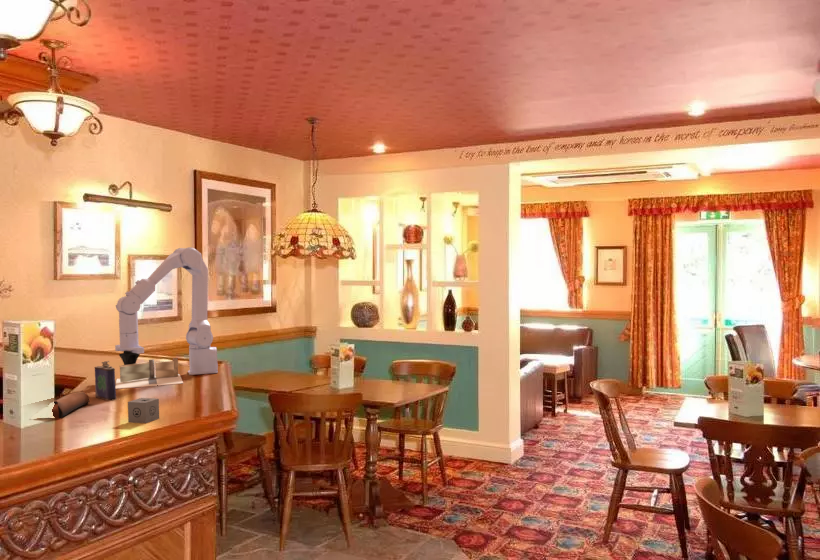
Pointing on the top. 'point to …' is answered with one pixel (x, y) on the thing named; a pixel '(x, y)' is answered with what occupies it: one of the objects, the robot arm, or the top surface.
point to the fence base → (164, 368)
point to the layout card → (149, 382)
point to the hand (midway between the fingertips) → (130, 374)
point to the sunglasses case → (69, 403)
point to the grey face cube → (143, 410)
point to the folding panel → (134, 371)
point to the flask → (105, 382)
